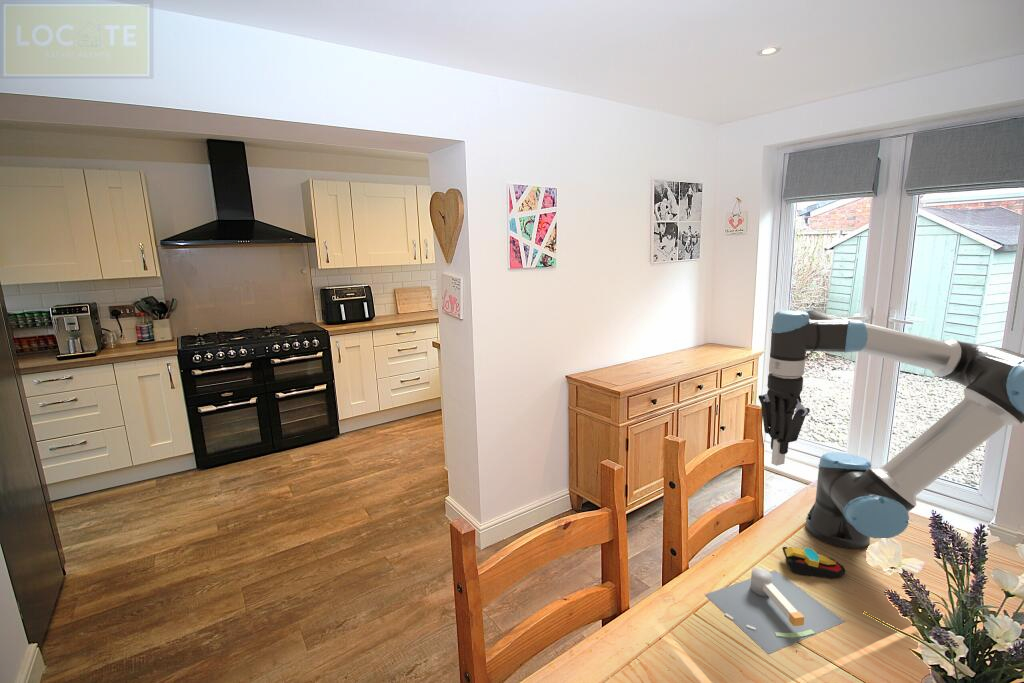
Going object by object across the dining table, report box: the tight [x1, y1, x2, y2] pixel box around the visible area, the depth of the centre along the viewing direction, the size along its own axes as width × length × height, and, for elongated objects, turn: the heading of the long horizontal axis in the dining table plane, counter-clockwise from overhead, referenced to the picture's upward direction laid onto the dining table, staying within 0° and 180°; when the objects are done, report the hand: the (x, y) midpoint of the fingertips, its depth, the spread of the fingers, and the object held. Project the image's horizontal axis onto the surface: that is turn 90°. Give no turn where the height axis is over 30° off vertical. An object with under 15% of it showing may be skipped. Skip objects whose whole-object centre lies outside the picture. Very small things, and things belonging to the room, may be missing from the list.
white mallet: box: [750, 567, 804, 626], centre depth 109 cm, size 15×4×4 cm, turn 7°
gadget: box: [782, 546, 847, 580], centre depth 121 cm, size 6×13×6 cm, turn 72°
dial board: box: [704, 569, 846, 655], centre depth 110 cm, size 22×18×1 cm
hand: (777, 463), depth 124 cm, fingers closed
